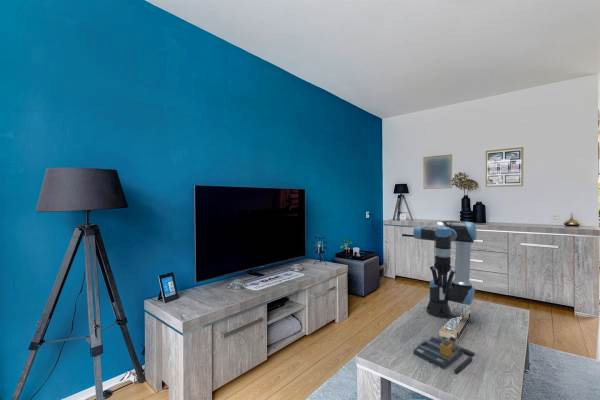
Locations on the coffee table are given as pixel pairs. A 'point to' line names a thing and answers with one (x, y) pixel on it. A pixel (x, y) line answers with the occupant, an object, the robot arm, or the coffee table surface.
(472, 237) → the robot arm
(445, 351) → the block
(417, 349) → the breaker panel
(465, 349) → the cord front
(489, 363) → the coffee table surface
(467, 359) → the rod
